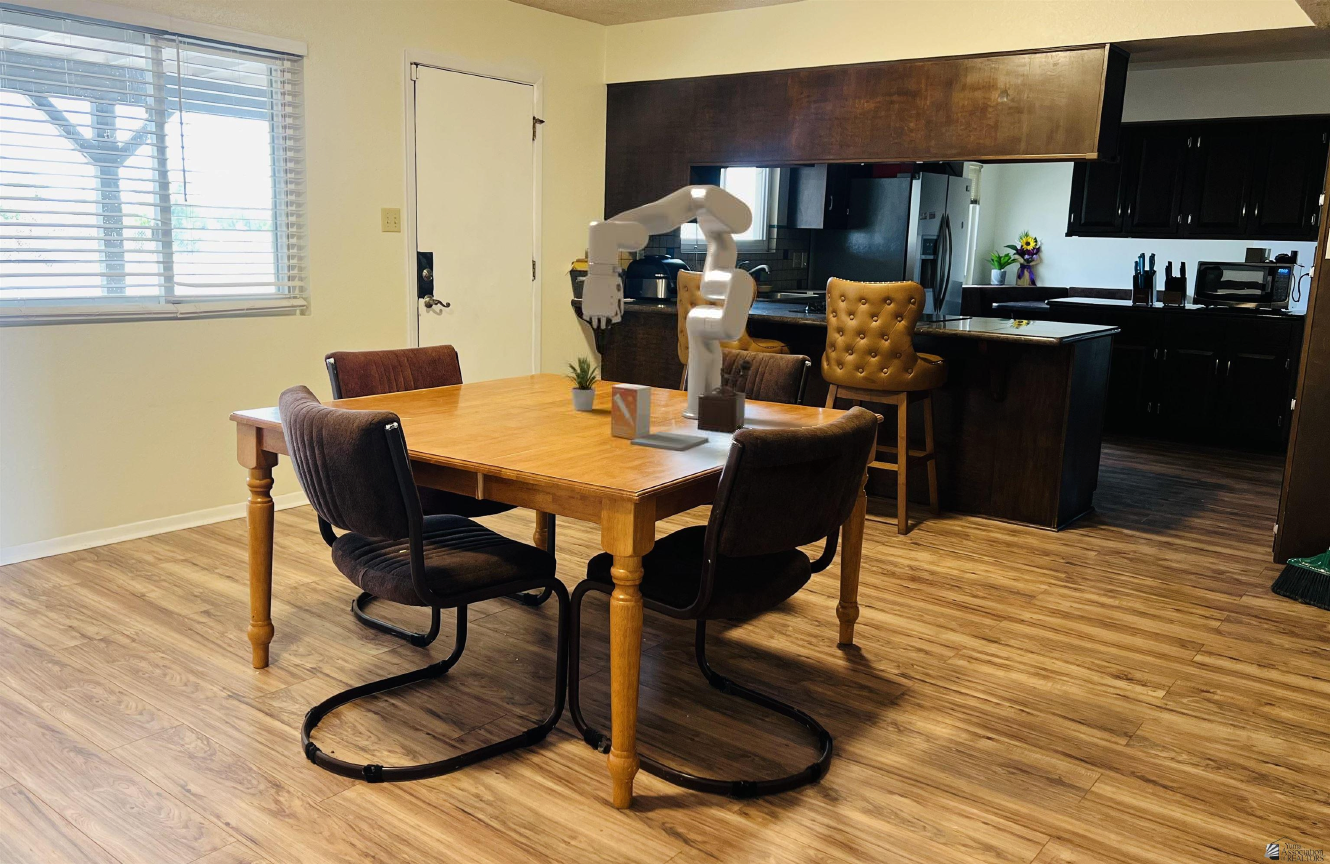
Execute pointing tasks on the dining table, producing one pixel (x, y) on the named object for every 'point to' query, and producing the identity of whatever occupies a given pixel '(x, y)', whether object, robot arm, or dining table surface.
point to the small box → (630, 411)
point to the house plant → (583, 385)
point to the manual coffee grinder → (723, 404)
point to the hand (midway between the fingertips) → (601, 343)
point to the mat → (669, 441)
